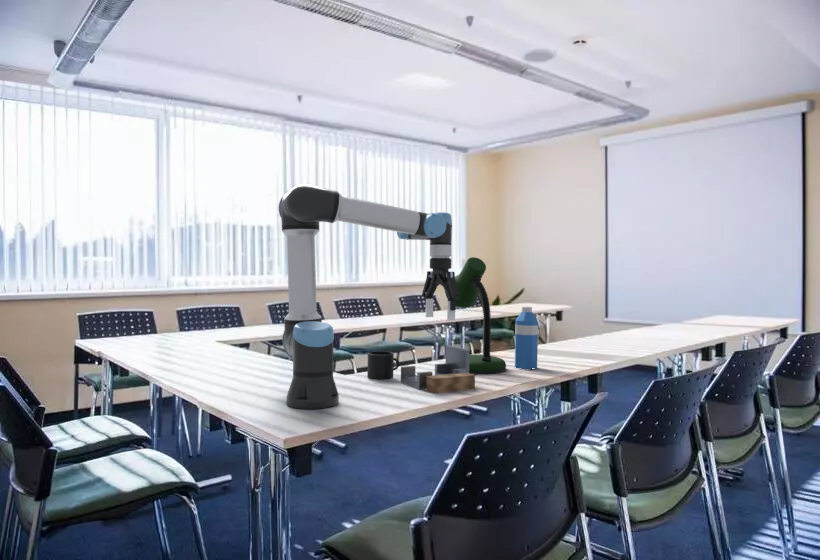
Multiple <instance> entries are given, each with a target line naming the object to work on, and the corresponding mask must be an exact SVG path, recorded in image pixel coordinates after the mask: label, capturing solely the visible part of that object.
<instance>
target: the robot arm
mask: <svg viewBox="0 0 820 560" xmlns="http://www.w3.org/2000/svg"><path fill="white" fill-rule="evenodd" d="M278 214H279V216H280V218H281V232H282V233H283V234H284V235H285V236H286V246H287V247H286V249H287V254H286V257H287V283H288V289H287V290H288V292H287V293H288V313H287V315H286V316H284V319H283V321H284V324H283V325H284V327H283V328H284V330H283V333H282V337H281V338H282V341H281V342H282V346H283V349H284V351H286V353H287V354H288V356H290V357H291V358H292V380H291V382H290V385H289V388H288V390H287V395H286V405H287V406H289V407H290V408H295V409H301V410H302V409H304V410H305V409H306V410H319V409H324V408H325V409H326V408H330V407H334V406H337V405H338V404H339V400H340V399H339V398H340V396H339V391H338V388H337V385H336V381H335V378H334V343H335V342H334V341H335V334H334V327H333V326H332V325H331V324H329V323H327V322H322V321H323V319H322V315H320V314H319V313H318V310H317V276H316V272H317V270H316V241H315V239H316V238H315V237H316V235H317V234H318V233H319V232H320V222H321V223H331V224H334V223H335V222H337V221H338V222H342V223H347V224H354V225H357V226H358V225H359V226H364V227H370V228H374V229H379V230H386V231H392V232H396V236H397V238H399V239H401V240H407V241H408V240H411V241H414V240H415V241H416V240H417V241H421V240H422V241H429V257H430V259H429V269H431V270H432V271H431V270H430V271H429V270H428V271H427V272H426V279H425V282H424V285H423V289H422V292H421V293H422V294H421V296H422V297H423V298H424V299H425V318H434V294H435V293H436V290H437V288H438V286H439V285H441V286H442V287H443V289H444V293H445V292H446V294H447V296H448V298H447V304H446V306H447V309H446V313H447V317H446V318H447V319H446V321H456V309H457V306H456V301H457V300H458V299H460V295H459V291H458V287H457V284H456V280H455V276H456V275H455V271H449V270H450V269H451V270H452V258H450V257H452V234H453V232H452V231H453V220H452V219H453V218H452V215H451V213H450V212H445V211H444V212H443V211H442V212H441V211H440V212H438V211H437V212H431V213H426V212H423V211H416V210H412V209H407V208H402V207H398V206H394V205H389V204H383V203H378V202H374V201H369V200H364V199H359V198H354V197H349V196H345V195H342V194H341V193H340V191H339V190H333V189H330V188H326V187H322V186H318V185H314V184H310V183H309V184H308V183H302V184H298V185H296V186H294V187H293V188H291V189H289V190H287V191H286V192H285V193H284V194H283V195H282V196H281V198H280V200H279V203H278ZM446 294H445V295H446Z"/></svg>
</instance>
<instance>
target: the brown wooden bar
mask: <svg viewBox="0 0 820 560" xmlns="http://www.w3.org/2000/svg"><path fill="white" fill-rule="evenodd" d="M472 389H473V390H475V389H476V374H470V373H459V374H448V375H436V376H435V375H432V376H427V382H426V389H425V390H426V392H428V393H432V394H441V393H451V392H462V391H461V390H463V391H470V390H472Z"/></svg>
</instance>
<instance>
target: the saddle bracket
mask: <svg viewBox="0 0 820 560" xmlns="http://www.w3.org/2000/svg"><path fill="white" fill-rule="evenodd" d="M427 376H433V371H428V370H427V371H418V372H416V366H415V365H408V366H401V367H400V383H401V384H403V385H405V386H409V387H411V388H413V389H416V390H419V391H420V390H421V391H422V390H426V382H427Z"/></svg>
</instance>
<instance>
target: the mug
mask: <svg viewBox="0 0 820 560" xmlns="http://www.w3.org/2000/svg"><path fill="white" fill-rule="evenodd" d="M394 362H396V365H395V367H394ZM399 367H400V361H399V360H398V359H397V358H396V357H394V352H392V351H385V350H384V351H382V350H381V351H380V350H379V351H378V350H377V351H370V352H368V353H367V371H366V372H367V378H368V379H369V380H372V381H373V380H374V381H387V380H388V381H389V380H391V379H394V371H396V370H398V368H399Z"/></svg>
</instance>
